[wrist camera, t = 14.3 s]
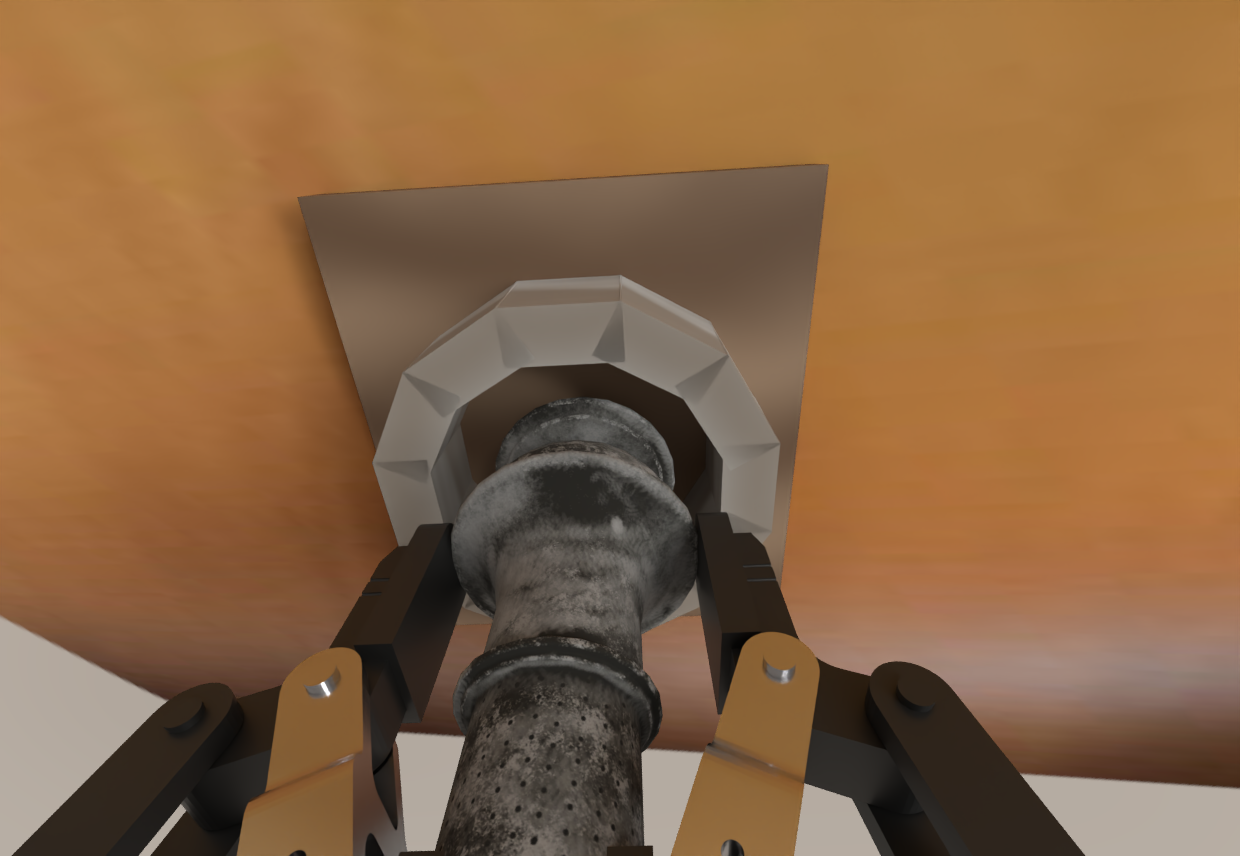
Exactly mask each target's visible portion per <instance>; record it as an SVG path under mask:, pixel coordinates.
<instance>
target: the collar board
mask: <svg viewBox="0 0 1240 856" xmlns="http://www.w3.org/2000/svg"><path fill="white" fill-rule="evenodd" d="M828 166H829V165H828V164H805V165H788V166H772V167H756V168H740V169H723V170H707V171H691V172H675V173H658V174H642V175H626V176H610V177H594V178H577V179H561V180H545V181H529V182H512V183H496V184H480V185H464V186H448V187H431V188H415V189H399V190H383V191H366V192H350V193H334V194H319V195H311V196H303V197H297V198H298V201H299V204H300V207H301V210H302V214H303V217H304V220H305V223H306V227H307V230H308V233H309V236H310V239H311V243H312V246H313V249H314V252H315V255H316V259H317V262H318V265H319V268H320V272H321V275H322V278H323V281H324V284H325V288H326V291H327V294H328V297H329V301H330V304H331V307H332V310H333V313H334V317H335V320H336V323H337V326H338V329H339V333H340V336H341V339H342V342H343V346H344V349H345V352H346V355H347V358H348V362H349V365H350V368H351V371H352V375H353V378H354V381H355V384H356V387H357V391H358V394H359V397H360V400H361V403H362V407H363V410H364V413H365V416H366V420H367V423H368V426H369V429H370V432H371V436H372V439H373V442H374V445H375V449H376V454H375V457H374V460H373V462H372V464H373V467H374V470H375V473H376V476H377V479H378V482H379V485H380V489H381V492H382V495H383V498H384V501H385V504H386V507H387V511H388V514H389V517H390V520H391V523H392V526H393V529H394V533H395V536H396V539H397V542H398V545H399V546H408V544H409V542H410V540H411V538H412V537H413V535H414V533H415V531H416V529H417V528H418V526H419V525H421V524H438V523H453V524H455V521H456V518H457V515H458V512H459V509H460V507H461V505H462V504H463V503H464V501H465V500H466V499H467V498H468V496H469V495H470V494H471V492H472V491H473V490H474V489H475V487H476V486H477V485H478V484H479V483H480V482H481V481H483V480H484V479H486V478H487V477H489V476H490V475H491V474H493V473H494V472H495V466H496V458H497V455H498V452H499V450H500V447H501V444H502V441H503V439H504V438H505V436H506V435H507V434H508V432H509V431H510V430H511V428H512V427H513V426H514V424H515V423H516V422H517V421H518V420H520V419H521V418H522V417H524V416H525V415H527V414H528V413H529V412H531V411H532V410H533V409H535V408H537V407H540V406H542V405H545V404H548V403H550V402H553V401H555V400H559V399H567V398H576V397H589V398H597V399H605V400H609V401H612V402H615V403H617V404H620V405H622V406H625V407H628V408H630V409H632V410H633V411H635V412H636V413H638V414H639V415H640V416H642V417H643V418H645V419H646V420H648V421H649V422H650V423H651V424H652V425H653V426H654V428H655V429H656V430H657V431H658V432H659V434H660V435H661V436H662V437H663V438H664V440H665V442H666V444H667V447H668V449H669V452H670V454H671V456H672V459H673V467H674V477H675V483H674V488H673V492H674V493H675V494H676V495H677V496H678V498H679V499H680V500H681V501H682V502H683V503H684V505H685V506H686V507H687V509H688V511H689V513H690V516H691V518H692V520H693V523H694V525H695V516H696V513H711V512H727V514H728V516H729V520H730V523H731V527H732V530H733V533H749V532H751V533H752V534H753V535H754V536H755V537H756V538H757V539H758V540H759V541H760V542H761V543H762V544H763V545H764V546H765V548H766V551H767V554H768V556H769V559H770V562H771V567H773V570H774V573H775V576H776V581H778V584H779V587H781V578H782V569H783V561H784V552H785V543H786V534H787V526H788V517H789V508H790V499H791V490H792V482H793V473H794V464H795V455H796V447H797V438H798V429H799V420H800V412H801V403H802V394H803V385H804V377H805V368H806V359H807V350H808V342H809V333H810V324H811V315H812V306H813V298H814V289H815V280H816V271H817V263H818V254H819V245H820V236H821V228H822V219H823V210H824V201H825V193H826V184H827V175H828ZM679 616H701V612H700V606H699V600H698V594H697V588H696V579H695V583H694V586H693V587H692V589H691V590H690V592H689V594H688V595H687V597H686V598H685V600H684V601H683V603H682V604H681V606H680V607H679V608H678V609H677V610H676V611H674V612H673V613H672V614H671V615H670V616H669V617H668V618H667V619H665V620H664V621H663V622H662V623H661V624H663V623H666V622H668V621H670V620H672V619H674V618H677V617H679ZM492 622H493V620H492V619H491V618H490V617H489V616H488V615H486V614H485V613H484V612H483V611H481V610H480V609H479V608H478V607H477V606H476V605H475V604H474V602H473V601H472V600H471V598H470V597H469V596H468V594H467V593H466V596H465V599H464V602H463V605H462V607H461V610H460V613H459V616H458V619H457V622H456V624H455V625H471V624H492ZM661 624H660V625H661ZM658 626H659V625H658ZM656 627H657V626H656ZM654 628H655V627H654Z"/></svg>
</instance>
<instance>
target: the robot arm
mask: <svg viewBox="0 0 1240 856" xmlns="http://www.w3.org/2000/svg"><path fill="white" fill-rule="evenodd" d="M453 527H454V524H453V523H438V524H421V525H419V526H418V528H417V529H416V531H415V533H414V535H413V537H412V538H411V540H410V542H409V544H408V546H398V547H397V548H395V549H394V550H393V551H392V552H391V553H390V554H389V555H387V556H386V557H385V558H384V559H383V560H382V561H381V562H380V563H379V565H378V567H377V568H376V570H375V572H374V574H373V575H372V577H371V581H370V582H368V584H367V585H366V587H365V589H364V590H363V592H362V596H361V597H359V599H358V601H357V602H356V604H355V606H354V607H353V609H352V611H351V612H350V614H349V616H348V618H347V619H346V621H345V623H344V624H343V626H342V628H341V629H340V631H339V633H338V634H337V636H336V638H335V639H334V641H333V643H332V645H331V646H330V648H329V649H327V650H324V651H321V652H319V653H316V654H314V655H312V656H311V657H309V658H307V659H306V660H304V661H303V662H302V663H300V664H299V665H298V666H297V667H296V668H295V669H294V670H293V671H292V672H291V673H290V674H289V675H288V676H287V678H286V679H285V681H284V683H283V685H281V686H278V687H275V688H271V689H268V690H265V691H261V692H258V693H255V694H252V695H248V696H245V697H242V698H238V699H236V697H235V696H234V694H233V692H232V691H231V689H230V688H229V687H228V686H226V685H224V684H221V683H208V684H203V685H199V686H196V687H193V688H191V689H188V690H186V691H184V692H182V693H180V694H179V695H177V696H175V697H173V698H172V699H170V700H169V701H167V702H166V703H165V704H164V705H162V706H161V707H160V708H159V709H158V710H157V711H156V712H155V713H153V714H152V715H151V716H150V717H149V718H148V719H147V720H146V722H144V723H143V724H142V725H141V726H140V727H139V728H138V729H137V730H136V731H135V732H134V733H133V734H132V735H131V737H129V738H128V740H126V742H124V743H123V744H122V745H121V746H120V747H119V748H118V749H117V751H115V752H114V754H112V756H111V757H110V758H108V760H106V761H105V763H104V764H103V765H102V766H100V767H99V769H97V770H96V771H95V773H94V774H93V775H92V776H91V777H90V778H89V779H88V780H87V781H86V782H85V783H84V784H83V785H82V786H81V787H80V788H79V789H78V790H77V791H76V792H75V793H74V794H73V795H72V796H71V797H70V798H69V799H68V800H67V801H66V802H65V803H64V804H63V805H62V806H61V807H60V808H59V809H58V810H57V811H56V812H55V813H54V814H53V815H52V816H51V817H50V818H49V819H48V820H47V821H46V822H45V823H44V824H43V825H42V826H41V827H40V828H39V829H38V830H37V831H36V832H35V833H34V834H33V835H32V836H31V837H30V838H29V839H28V840H27V841H26V842H25V843H24V844H23V845H22V846H21V847H20V848H19V849H18V850H17V851H16V852H15V853H14V854H13V855H12V856H139V854H140V853H141V852H142V851H143V849H144V848H145V847H146V846H147V845H148V843H149V842H150V841H151V840H152V838H153V837H154V836H155V835H156V834H157V832H158V831H159V830H160V829H161V827H162V826H163V825H164V824H165V822H166V821H167V820H168V819H169V818H170V816H171V815H172V814H173V813H174V812H175V810H176V809H177V808H178V807H179V805H180V804H182V805H183V807H184V808H185V809H186V812H185V813H184V814H183V816H182V817H181V818H180V819H179V821H178V822H177V823H176V824H175V826H174V827H173V828H172V830H171V831H170V832H169V833H168V834H167V836H166V837H165V838H164V839H163V841H162V842H161V843H160V844H159V846H158V847H157V848H156V850H155V851H154V852H153V853H152V854H151V856H444V855H445V851H414V852H413V851H411V852H407V847H406V841H405V832H404V820H403V808H402V794H401V781H400V769H399V755H398V747H397V744H396V742H395V738H396V736H397V733H398V731H399V728H400V726H401V723H421V721H422V718H423V715H424V712H425V710H426V707H427V704H428V701H429V698H430V695H431V692H432V690H433V687H434V684H435V681H436V678H437V675H438V673H439V670H440V667H441V664H442V661H443V658H444V656H445V653H446V650H447V647H448V644H449V641H450V639H451V636H452V633H453V630H454V627H455V624H456V622H457V619H458V616H459V613H460V610H461V607H462V605H463V602H464V599H465V596H466V591H465V590H464V589H463V587H462V586H461V585H460V582H459V579H458V576H457V572H456V569H455V566H454V563H453V557H452V551H451V532H452V529H453ZM695 527H696V530H697V533H698V568H697V576H696V588H697V594H698V600H699V606H700V612H701V618H702V623H703V629H704V635H705V641H706V647H707V653H708V659H709V665H710V671H711V677H712V683H713V689H714V694H715V700H716V706H717V712H718V714H722V715H721V718H720V721H719V724H718V728H717V731H716V734H715V737H714V740H713V742H712V744H711V743H709V744H708V745H707V747H706V749H705V751H704V753H703V756H702V759H701V762H700V765H699V768H698V771H697V775H696V778H695V781H694V784H693V787H692V791H691V793H690V797H689V800H688V803H687V806H686V809H685V812H684V815H683V818H682V822H681V825H680V828H679V831H678V834H677V837H676V841H675V844H674V847H673V850H672V853H671V856H794V851H795V844H796V838H797V831H798V824H799V817H800V810H801V804H802V797H803V789H804V783H806V784H809V785H812V786H815V787H818V788H821V789H824V790H827V791H831V792H834V793H837V794H840V795H843V796H846V797H849V798H852V799H853V801H854V803H855V805H856V807H857V809H858V811H859V813H860V815H861V817H862V819H863V821H864V823H865V825H866V827H867V829H868V831H869V833H870V835H871V837H872V839H873V841H874V843H875V845H876V846H877V849H878V851H879V853H880V855H881V856H1085V855H1084V854H1083V852H1082V851H1081V850H1080V849H1079V847H1078V846H1077V845H1076V844H1075V842H1074V841H1073V840H1072V839H1071V837H1070V836H1069V835H1068V834H1067V832H1066V831H1065V830H1064V829H1063V827H1062V826H1061V825H1060V824H1059V823H1058V821H1057V820H1056V819H1055V817H1054V816H1053V815H1052V814H1051V812H1050V811H1049V810H1048V809H1047V807H1046V806H1045V805H1044V804H1043V802H1042V801H1041V800H1040V799H1039V797H1038V796H1037V795H1036V794H1035V792H1034V791H1033V790H1032V789H1031V788H1030V786H1029V785H1028V783H1027V782H1026V781H1025V780H1024V778H1023V777H1022V776H1021V775H1020V773H1019V772H1018V771H1017V770H1016V768H1015V767H1014V766H1013V765H1012V763H1011V762H1010V761H1009V760H1008V758H1007V757H1006V756H1005V755H1004V753H1003V752H1002V751H1001V750H1000V748H999V747H998V746H997V745H996V743H995V742H994V741H993V740H992V738H991V737H990V736H989V735H988V733H987V732H986V731H985V730H984V728H983V727H982V726H981V725H980V723H979V722H978V721H977V720H976V718H975V717H974V716H973V715H972V713H971V712H970V711H969V710H968V708H967V707H966V706H965V705H964V703H963V702H962V701H961V700H960V698H959V697H958V696H957V695H956V693H955V692H954V691H953V690H952V689H951V687H950V686H949V685H948V684H947V683H946V682H945V681H944V680H942V679H941V678H940V677H939V676H937V675H936V674H934V673H933V672H931V671H929V670H927V669H925V668H923V667H921V666H918V665H915V664H912V663H907V662H898V661H895V662H888V663H884V664H882V665H880V666H878V667H877V668H876V669H875V670H874V671H873V673H872V675H871V676H868V675H864V674H860V673H856V672H852V671H848V670H844V669H840V668H837V667H834V666H831V665H829V664H827V663H825V662H823V661H821V660H819V659H818V658H817V657H815V655H814V654H813V652H812V651H811V650H810V649H809V648H808V647H807V646H806V645H805V644H804V643H803V642H801V641H800V640H799V638H798V636H797V634H796V631H795V628H794V626H793V623H792V620H791V617H790V614H789V612H788V609H787V606H786V603H785V601H784V598H783V595H782V592H781V590H780V587H779V584H778V581H776V576H775V573H774V570H773V567H771V562H770V559H769V556H768V554H767V551H766V548H765V546H764V545H763V544H762V543H761V542H760V541H759V540H758V539H757V538H756V537H755V536H754V535H753V534H752V533H751V532H749V533H733V530H732V527H731V523H730V520H729V516H728V514H727V512H711V513H696V516H695ZM607 856H653V846H615V847H607Z"/></svg>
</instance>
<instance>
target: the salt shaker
mask: <svg viewBox="0 0 1240 856" xmlns="http://www.w3.org/2000/svg"><path fill="white" fill-rule="evenodd" d="M674 483H675V477H674V467H673V459H672V456H671V454H670V452H669V449H668V447H667V444H666V442H665V440H664V438H663V437H662V436H661V435H660V434H659V432H658V431H657V430H656V429H655V428H654V426H653V425H652V424H651V423H650V422H649V421H648V420H646V419H645V418H643V417H642V416H640V415H639V414H638V413H636V412H635V411H633V410H632V409H630V408H628V407H625V406H622V405H620V404H617V403H615V402H612V401H609V400H605V399H597V398H589V397H576V398H567V399H559V400H555V401H553V402H550V403H548V404H545V405H542V406H540V407H537V408H535V409H533V410H532V411H531V412H529V413H528V414H527V415H525V416H524V417H522V418H521V419H520V420H518V421H517V422H516V423H515V424H514V426H513V427H512V428H511V430H510V431H509V432H508V434H507V435H506V436H505V438H504V439H503V441H502V444H501V447H500V450H499V452H498V455H497V458H496V466H495V472H494V473H493V474H491V475H490V476H489V477H487V478H486V479H484V480H483V481H481V482H480V483H479V484H478V485H477V486H476V487H475V489H474V490H473V491H472V492H471V494H470V495H469V496H468V498H467V499H466V500H465V501H464V503H463V504H462V505H461V507H460V509H459V512H458V515H457V518H456V521H455V524H454V527H453V529H452V532H451V551H452V557H453V563H454V566H455V569H456V572H457V576H458V579H459V582H460V585H461V586H462V587H463V589H464V590H465V591H466V593H467V594H468V596H469V597H470V598H471V600H472V601H473V602H474V604H475V605H476V606H477V607H478V608H479V609H480V610H481V611H483V612H484V613H485V614H486V615H488V616H489V617H490V618H491V619H492V620H493V622H492V626H491V629H490V633H489V636H488V640H487V644H486V647H485V651H484V654H482V655H480V656H479V657H477V658H475V659H474V660H473V661H472V662H471V664H470V665H469V666H468V667H467V668H466V669H465V670H464V671H463V672H462V673H461V675H460V678H459V680H458V683H457V685H456V688H455V690H454V693H453V714H454V716H455V718H456V721H457V723H458V725H459V727H460V729H461V731H462V733H463V734H464V735H465V736H466V737H465V741H464V745H463V749H462V752H461V756H460V760H459V764H458V767H457V771H456V775H455V778H454V782H453V786H452V789H451V793H450V797H449V800H448V804H447V808H446V812H445V815H444V819H443V823H442V826H441V831H440V834H439V838H438V841H437V845H436V849H435V851H445V855H444V856H607V847H615V846H644V824H643V823H644V822H643V791H642V761H641V760H642V759H641V753H642V752H643V751H645V750H646V749H647V748H648V747H649V745H650V744H651V742H652V741H653V740H654V738H655V737H656V735H657V734H658V732H659V728H660V724H661V720H662V716H663V715H662V707H661V700H660V694H659V692H658V690H657V688H656V687H655V685H654V683H653V681H652V680H651V678H650V676H649V675H648V674H647V673H646V672H644V671H643V662H642V637H641V634H643V633H645V632H647V631H648V630H650V629H652V628H654V627H656V626H658V625H660V624H661V623H662V622H663V621H664V620H665V619H667V618H668V617H669V616H670V615H671V614H672V613H673V612H674V611H676V610H677V609H678V608H679V607H680V606H681V604H682V603H683V601H684V600H685V598H686V597H687V595H688V594H689V592H690V590H691V589H692V587H693V586H694V583H695V579H696V576H697V568H698V533H697V530H696V527H695V525H694V523H693V520H692V518H691V516H690V513H689V511H688V509H687V507H686V506H685V505H684V503H683V502H682V501H681V500H680V499H679V498H678V496H677V495H676V494H675V493H674V492H673V488H674Z"/></svg>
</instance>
